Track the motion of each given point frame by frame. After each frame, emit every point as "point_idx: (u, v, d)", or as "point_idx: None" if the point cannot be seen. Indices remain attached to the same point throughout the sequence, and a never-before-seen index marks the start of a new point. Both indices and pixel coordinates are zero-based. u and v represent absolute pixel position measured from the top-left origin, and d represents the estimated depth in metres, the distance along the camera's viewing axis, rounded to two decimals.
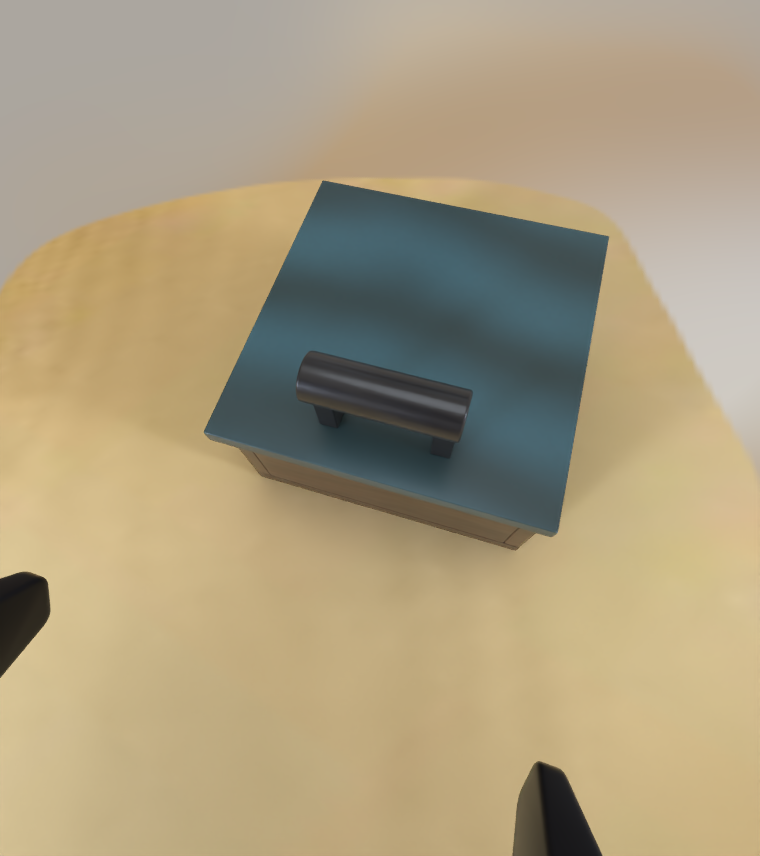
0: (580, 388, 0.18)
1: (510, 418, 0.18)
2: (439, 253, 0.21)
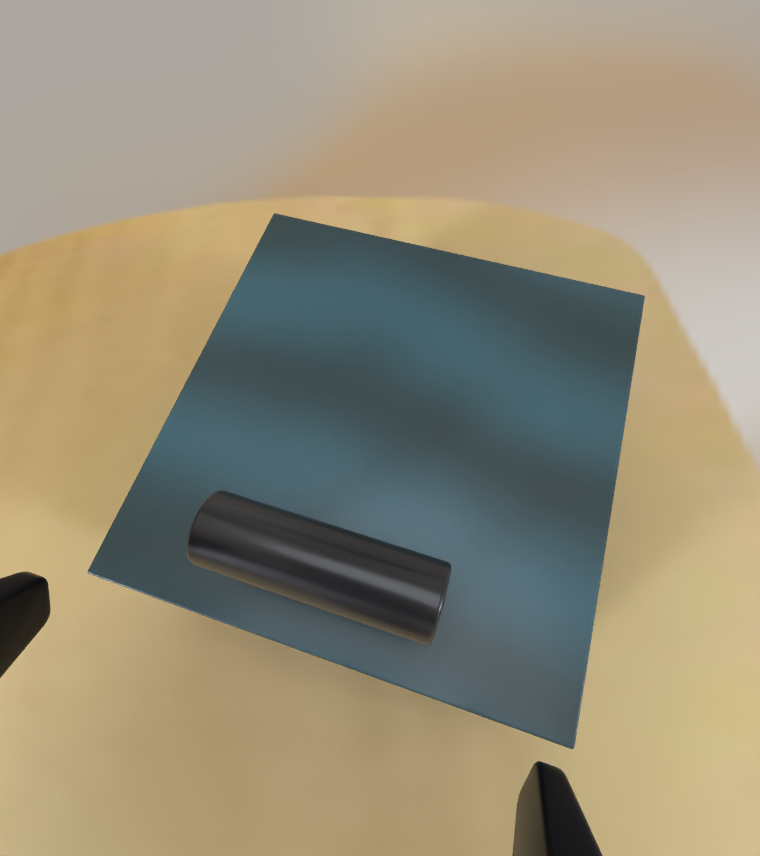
0: (607, 518, 0.13)
1: (509, 562, 0.13)
2: (419, 316, 0.16)
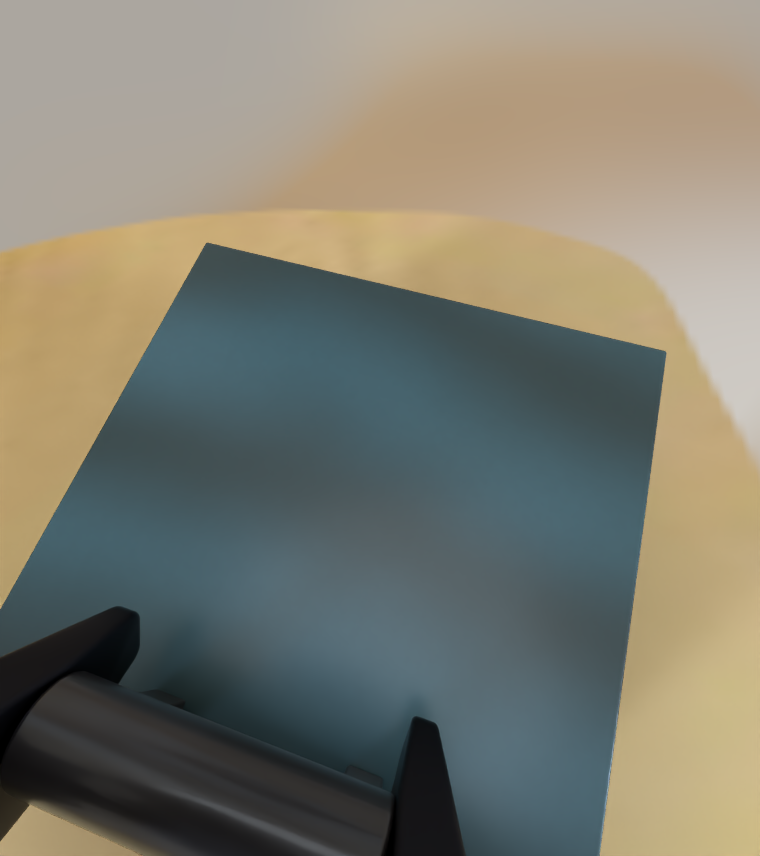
0: (621, 665, 0.10)
1: (490, 729, 0.10)
2: (381, 377, 0.12)
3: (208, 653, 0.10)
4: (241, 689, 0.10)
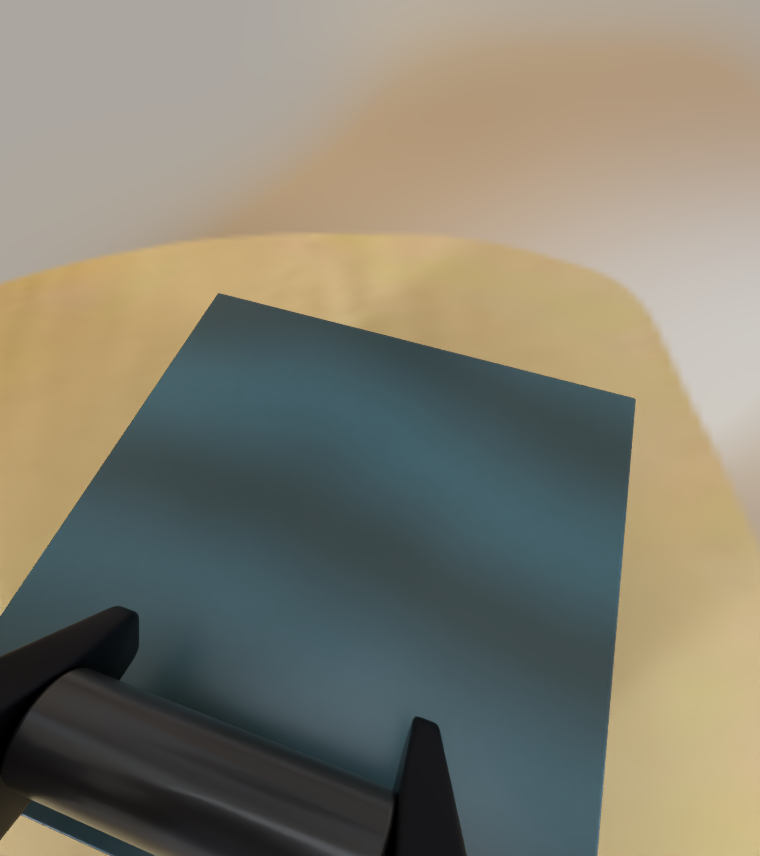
0: (608, 686, 0.10)
1: (483, 750, 0.10)
2: (377, 415, 0.13)
3: (202, 673, 0.10)
4: (234, 710, 0.10)
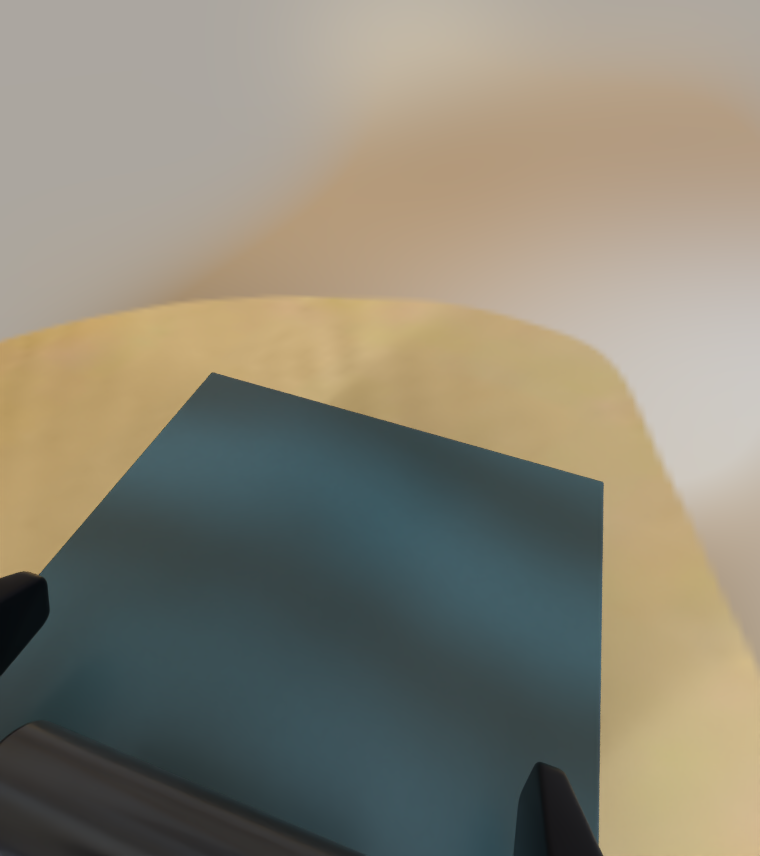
0: (596, 768, 0.10)
1: (468, 842, 0.09)
2: (360, 488, 0.14)
3: (165, 752, 0.09)
4: None
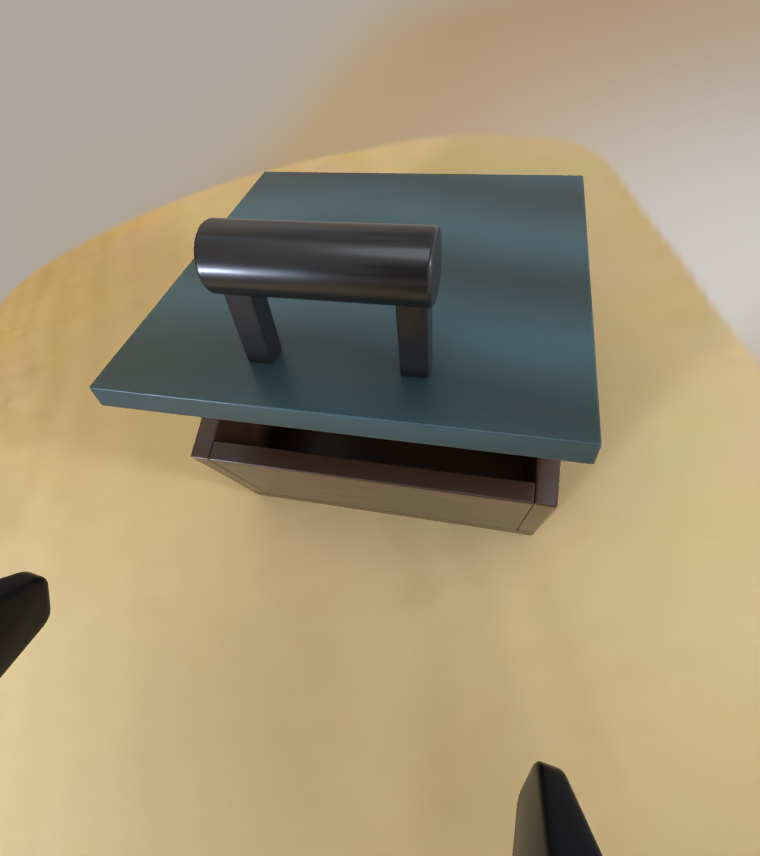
0: (588, 293, 0.14)
1: (504, 330, 0.13)
2: (394, 206, 0.18)
3: (294, 325, 0.14)
4: (321, 337, 0.14)
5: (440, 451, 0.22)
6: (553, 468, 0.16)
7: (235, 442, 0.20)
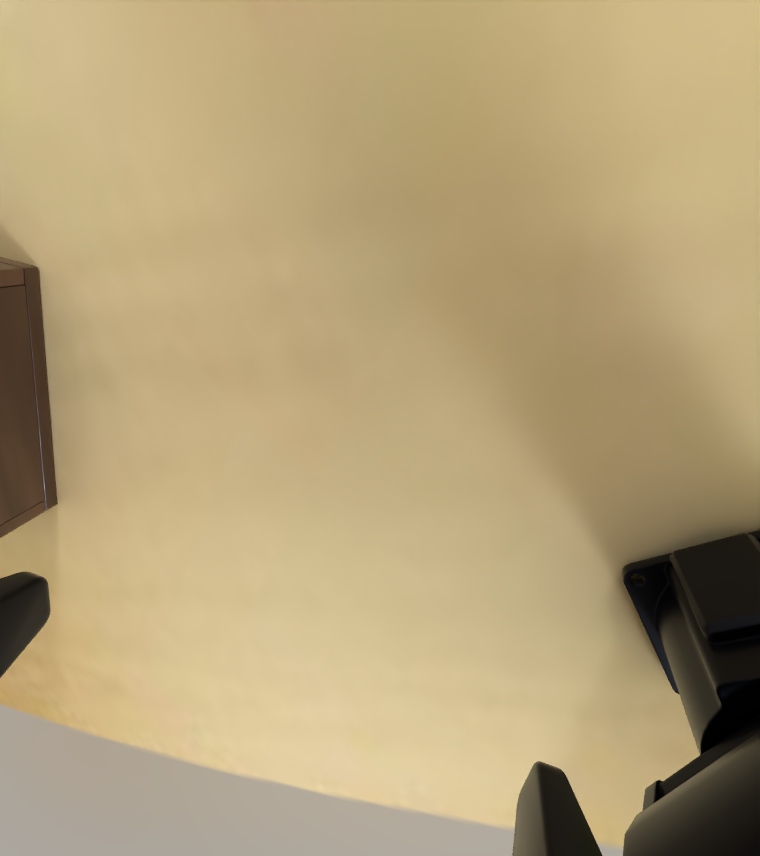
0: None
1: None
2: None
3: None
4: None
5: None
6: None
7: None
